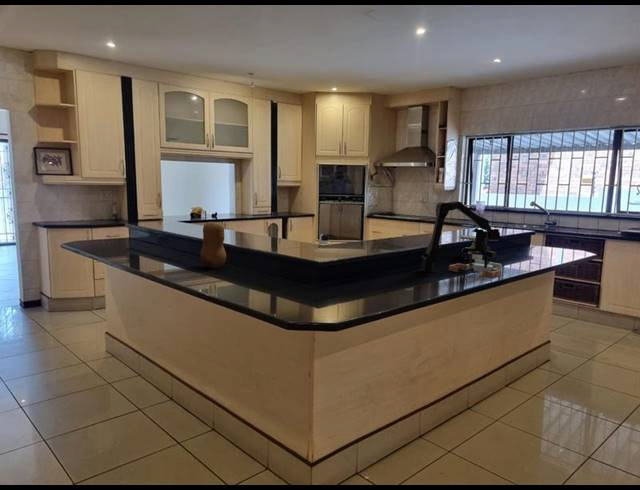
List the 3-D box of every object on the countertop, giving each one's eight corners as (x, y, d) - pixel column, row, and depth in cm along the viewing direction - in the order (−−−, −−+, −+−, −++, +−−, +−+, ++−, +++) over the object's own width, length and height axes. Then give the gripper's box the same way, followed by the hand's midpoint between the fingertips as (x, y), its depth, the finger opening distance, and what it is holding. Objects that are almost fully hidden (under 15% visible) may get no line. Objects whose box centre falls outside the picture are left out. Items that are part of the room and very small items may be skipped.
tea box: (458, 258, 304) (460, 236, 301) (458, 255, 313) (460, 234, 311) (482, 260, 299) (484, 238, 297) (481, 257, 309) (483, 236, 306)
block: (491, 273, 260) (492, 266, 260) (473, 271, 264) (474, 264, 264) (492, 271, 266) (493, 265, 265) (474, 269, 270) (475, 263, 269)
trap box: (487, 278, 246) (488, 273, 245) (448, 270, 264) (449, 265, 263) (507, 273, 260) (508, 268, 260) (469, 266, 278) (469, 261, 278)
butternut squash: (229, 265, 252) (229, 221, 247) (221, 271, 238) (222, 224, 234) (205, 264, 253) (205, 220, 249) (196, 269, 240) (196, 222, 236)
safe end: (499, 272, 263) (500, 264, 262) (474, 267, 275) (475, 259, 274) (500, 272, 263) (501, 264, 262) (475, 267, 275) (476, 259, 275)
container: (330, 253, 302) (330, 234, 300) (329, 255, 295) (330, 235, 293) (318, 252, 303) (319, 233, 301) (317, 254, 296) (318, 235, 293)
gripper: (502, 241, 257) (499, 268, 259) (473, 237, 271) (470, 262, 273) (493, 243, 249) (490, 270, 252) (462, 238, 263) (460, 264, 266)
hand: (477, 266), depth 261 cm, fingers open, 9 cm apart
